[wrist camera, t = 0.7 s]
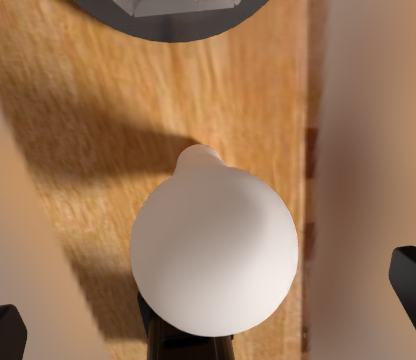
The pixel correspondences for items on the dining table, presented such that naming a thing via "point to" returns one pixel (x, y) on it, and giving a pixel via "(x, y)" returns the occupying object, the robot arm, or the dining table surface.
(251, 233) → the lightbulb
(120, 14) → the socket base
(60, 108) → the dining table surface
